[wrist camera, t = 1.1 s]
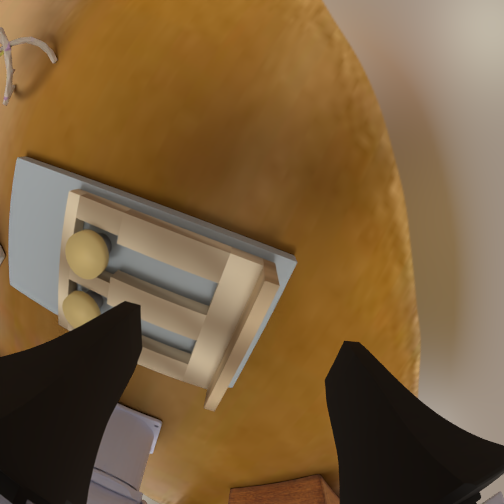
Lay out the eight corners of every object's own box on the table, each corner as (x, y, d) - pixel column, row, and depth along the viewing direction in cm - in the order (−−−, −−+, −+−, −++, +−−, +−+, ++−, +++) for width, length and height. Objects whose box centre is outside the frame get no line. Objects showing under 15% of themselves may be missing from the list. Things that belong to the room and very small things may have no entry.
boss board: (232, 378, 22) (230, 410, 18) (17, 279, 19) (-6, 295, 16) (294, 255, 18) (303, 278, 15) (26, 156, 15) (-4, 160, 12)
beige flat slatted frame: (218, 381, 20) (214, 411, 17) (65, 317, 18) (46, 337, 15) (275, 263, 17) (279, 286, 14) (78, 188, 15) (49, 196, 12)
